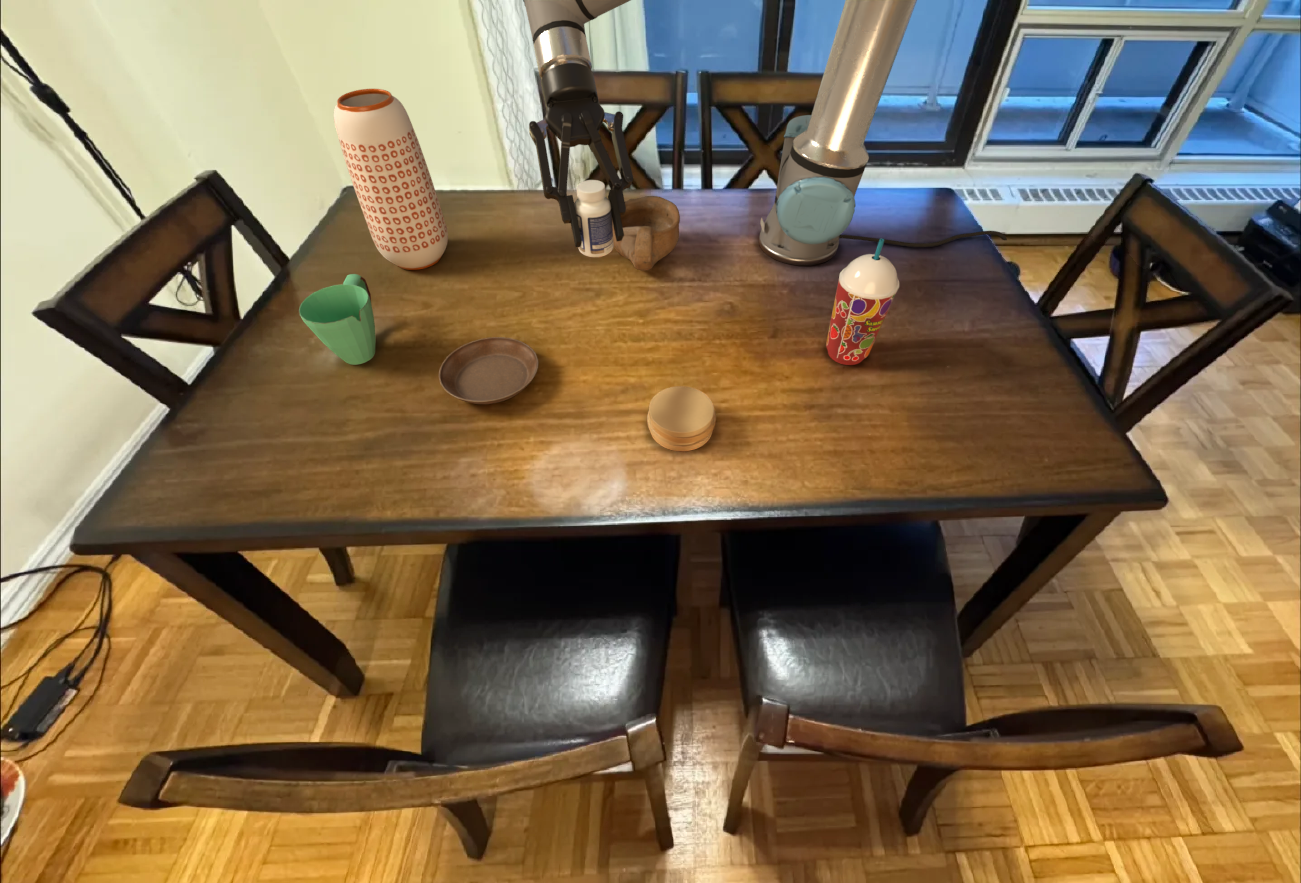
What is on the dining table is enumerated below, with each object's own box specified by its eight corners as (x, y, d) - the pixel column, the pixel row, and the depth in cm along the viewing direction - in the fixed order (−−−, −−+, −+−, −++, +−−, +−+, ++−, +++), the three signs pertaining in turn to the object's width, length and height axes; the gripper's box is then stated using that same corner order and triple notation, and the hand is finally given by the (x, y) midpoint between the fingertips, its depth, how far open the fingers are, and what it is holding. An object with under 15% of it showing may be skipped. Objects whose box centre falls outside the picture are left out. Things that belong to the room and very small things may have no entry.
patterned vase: (450, 235, 119) (405, 78, 98) (457, 269, 110) (410, 107, 89) (381, 246, 116) (320, 88, 95) (383, 282, 108) (317, 118, 87)
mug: (382, 374, 91) (357, 322, 84) (318, 376, 91) (288, 324, 84) (404, 316, 101) (384, 265, 93) (346, 318, 101) (322, 267, 93)
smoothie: (862, 378, 90) (903, 263, 75) (811, 359, 93) (841, 245, 78) (879, 348, 95) (921, 234, 80) (830, 331, 98) (861, 218, 83)
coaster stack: (709, 402, 87) (711, 382, 84) (718, 451, 81) (721, 431, 78) (645, 405, 87) (645, 386, 84) (649, 455, 80) (649, 435, 77)
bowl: (701, 270, 107) (689, 222, 100) (629, 297, 109) (612, 252, 101) (678, 221, 119) (665, 175, 111) (613, 246, 120) (596, 202, 112)
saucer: (461, 346, 96) (456, 333, 94) (549, 352, 95) (547, 338, 93) (429, 410, 86) (423, 397, 84) (527, 418, 85) (524, 404, 83)
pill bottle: (619, 243, 90) (615, 180, 83) (605, 261, 87) (601, 197, 80) (587, 237, 91) (581, 174, 84) (572, 254, 88) (565, 191, 81)
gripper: (626, 83, 88) (656, 239, 90) (502, 96, 85) (536, 258, 86) (634, 53, 80) (666, 224, 82) (498, 66, 77) (535, 243, 79)
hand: (599, 241), depth 84 cm, fingers closed on pill bottle, 5 cm apart
